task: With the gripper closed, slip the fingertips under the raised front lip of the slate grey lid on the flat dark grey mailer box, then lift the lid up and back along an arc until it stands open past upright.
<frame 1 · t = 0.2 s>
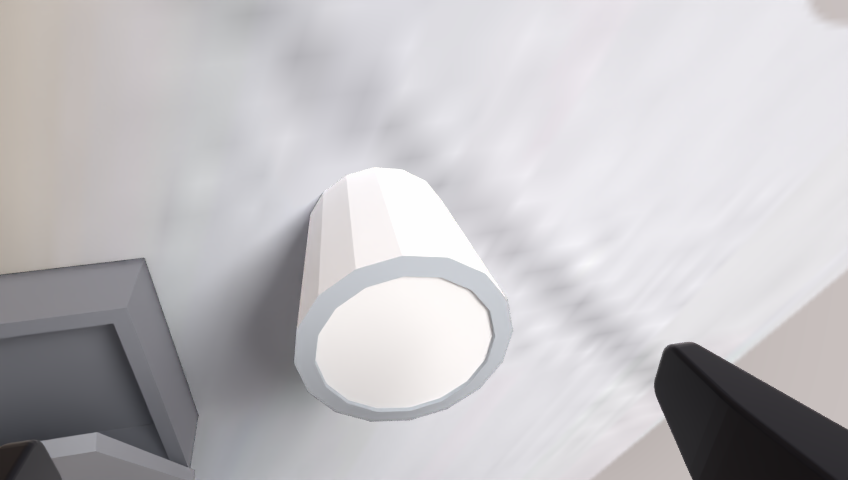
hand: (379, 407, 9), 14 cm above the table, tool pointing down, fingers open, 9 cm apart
shot glass: (377, 227, 24), on the table
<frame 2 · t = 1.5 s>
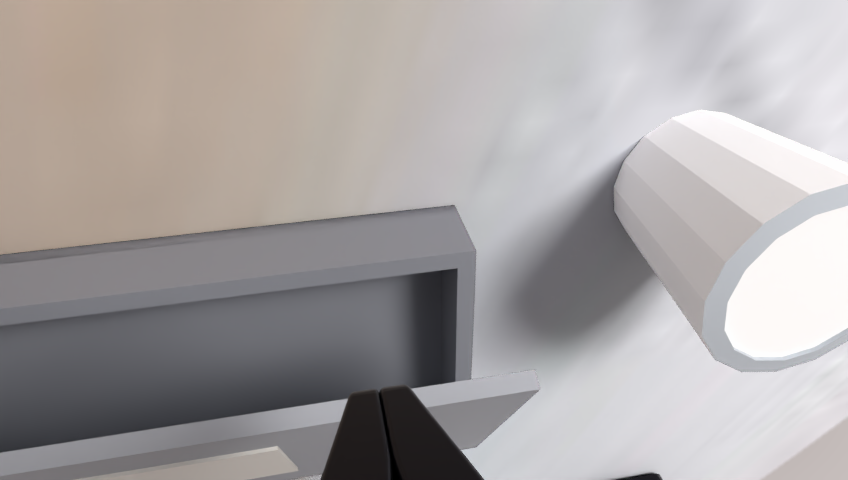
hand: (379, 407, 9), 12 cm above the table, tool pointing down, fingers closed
lid flap: (172, 473, 18), point 6 cm above the table, hinge at 30.0°
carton: (195, 336, 22), on the table
shot glass: (678, 177, 23), on the table
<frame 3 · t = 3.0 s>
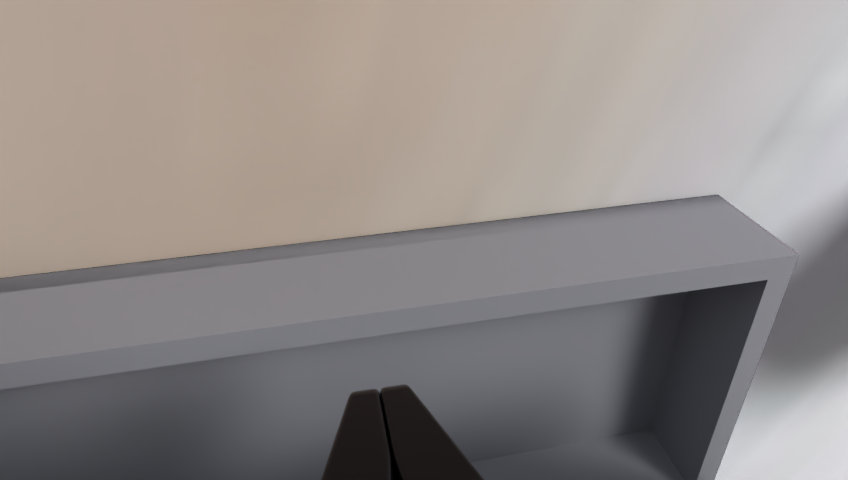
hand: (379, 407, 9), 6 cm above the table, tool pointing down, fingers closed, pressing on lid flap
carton: (357, 374, 17), on the table
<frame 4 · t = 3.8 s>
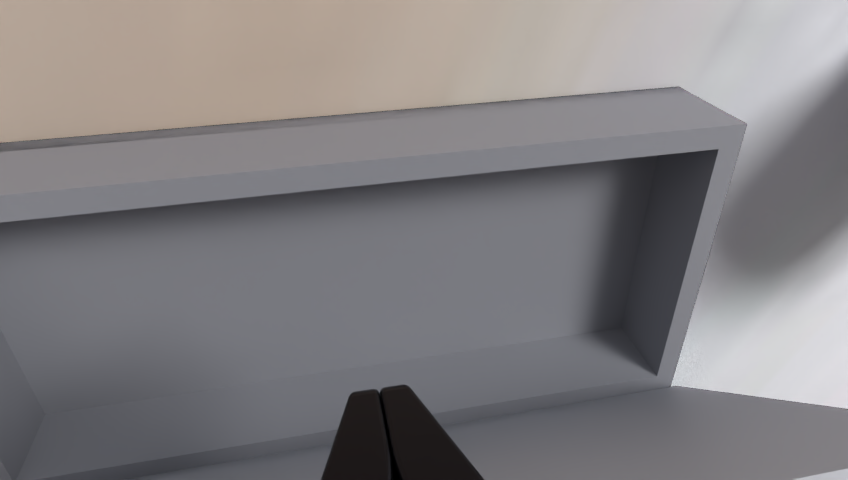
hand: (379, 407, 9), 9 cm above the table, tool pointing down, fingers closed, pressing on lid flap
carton: (343, 259, 18), on the table
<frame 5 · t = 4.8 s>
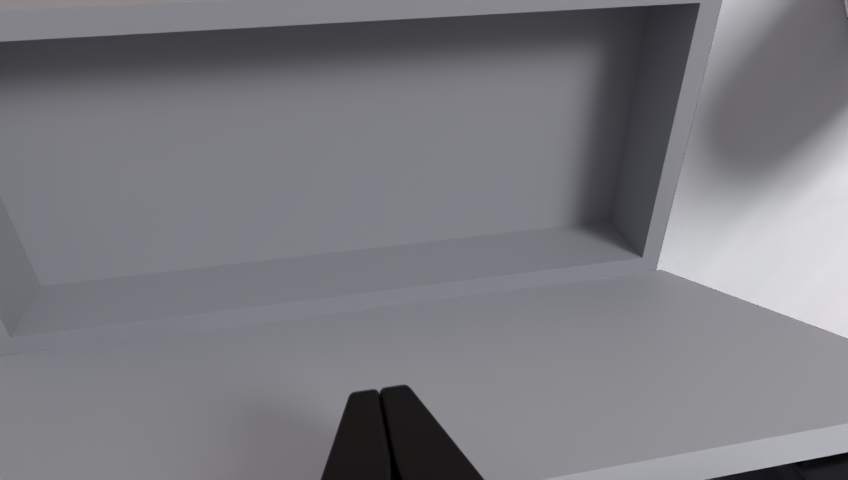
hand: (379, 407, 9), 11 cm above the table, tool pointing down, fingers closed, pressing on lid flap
lid flap: (367, 384, 13), point 8 cm above the table, hinge at 67.2°, touching gripper
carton: (333, 134, 18), on the table
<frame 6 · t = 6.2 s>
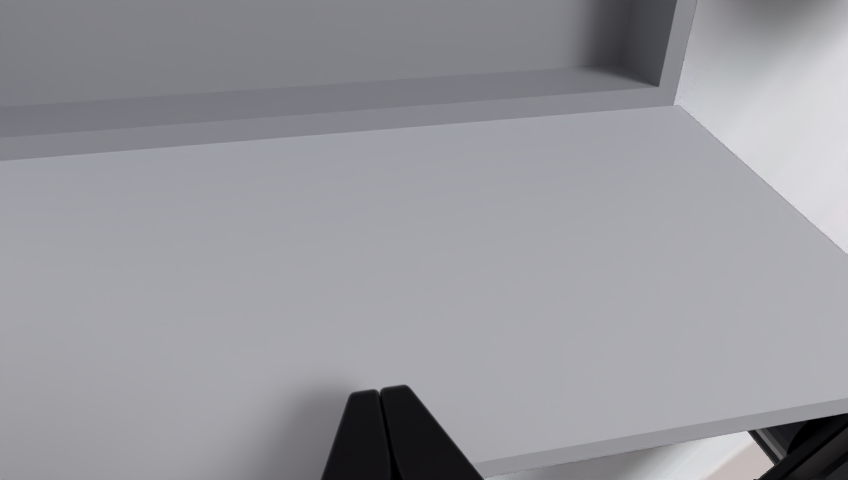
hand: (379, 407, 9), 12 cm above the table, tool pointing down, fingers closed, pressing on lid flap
lid flap: (355, 263, 12), point 8 cm above the table, hinge at 97.4°, touching gripper
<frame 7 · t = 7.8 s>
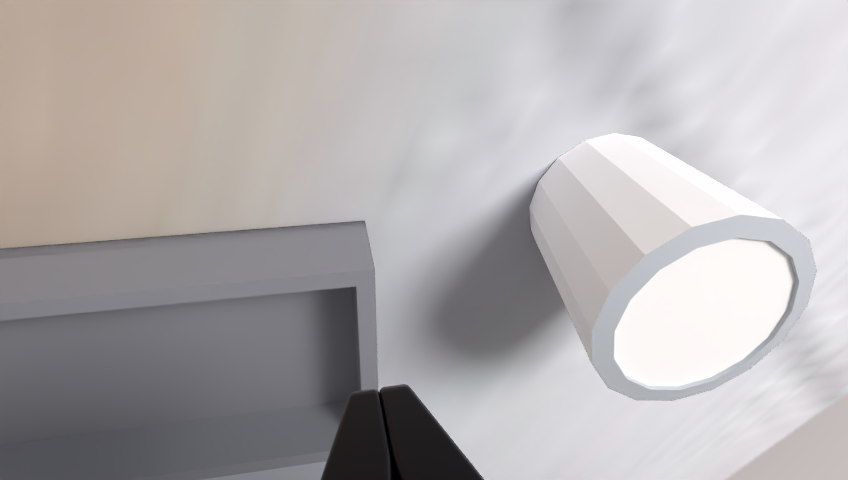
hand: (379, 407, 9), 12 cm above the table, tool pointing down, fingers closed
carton: (97, 346, 22), on the table
shot glass: (596, 199, 23), on the table
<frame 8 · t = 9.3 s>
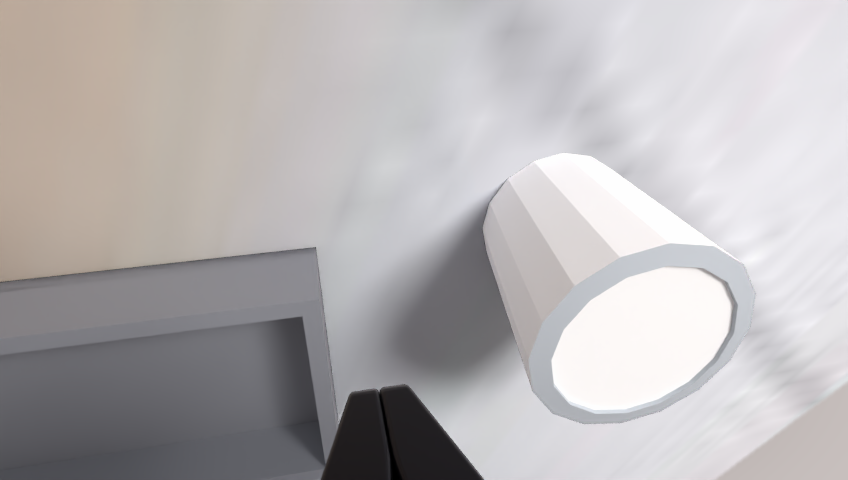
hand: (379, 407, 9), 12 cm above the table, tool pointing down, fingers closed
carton: (58, 377, 22), on the table
shot glass: (551, 217, 23), on the table
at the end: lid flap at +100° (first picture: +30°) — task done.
